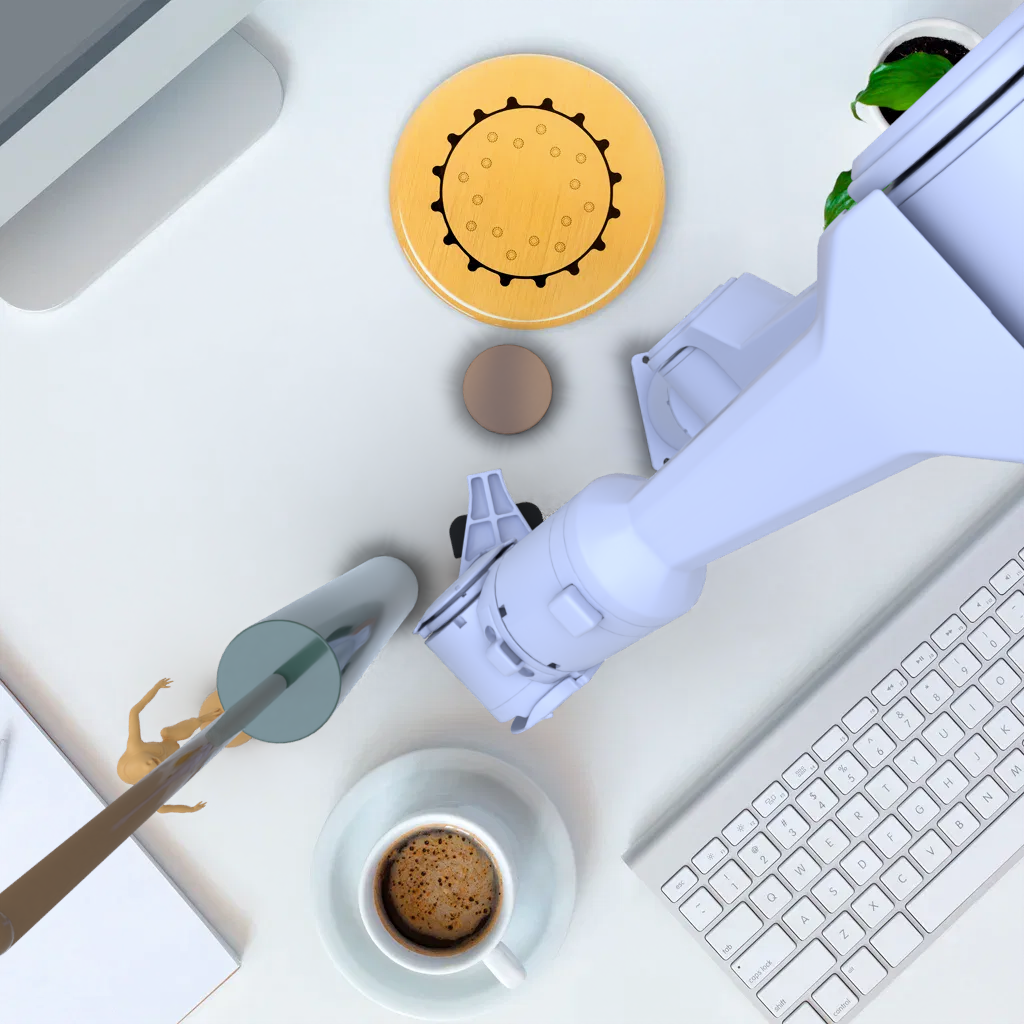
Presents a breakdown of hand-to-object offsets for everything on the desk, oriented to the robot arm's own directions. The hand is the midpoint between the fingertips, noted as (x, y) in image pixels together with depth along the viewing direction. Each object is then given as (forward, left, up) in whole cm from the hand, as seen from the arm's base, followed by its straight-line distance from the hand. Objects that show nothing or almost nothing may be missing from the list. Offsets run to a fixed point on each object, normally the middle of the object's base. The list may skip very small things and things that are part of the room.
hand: (510, 580), depth 63 cm
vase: (+9, -1, -2) cm, 9 cm away
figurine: (+21, +5, -2) cm, 22 cm away
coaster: (-2, -12, -2) cm, 13 cm away
